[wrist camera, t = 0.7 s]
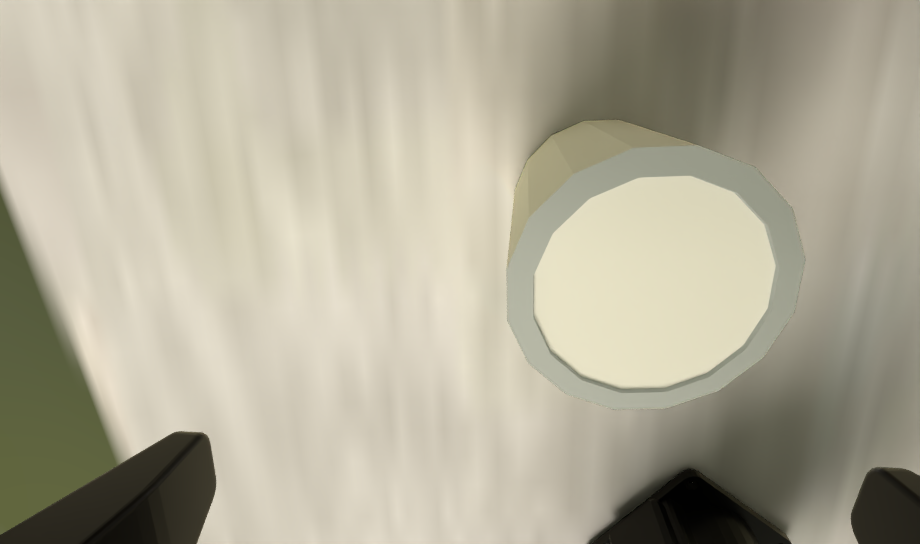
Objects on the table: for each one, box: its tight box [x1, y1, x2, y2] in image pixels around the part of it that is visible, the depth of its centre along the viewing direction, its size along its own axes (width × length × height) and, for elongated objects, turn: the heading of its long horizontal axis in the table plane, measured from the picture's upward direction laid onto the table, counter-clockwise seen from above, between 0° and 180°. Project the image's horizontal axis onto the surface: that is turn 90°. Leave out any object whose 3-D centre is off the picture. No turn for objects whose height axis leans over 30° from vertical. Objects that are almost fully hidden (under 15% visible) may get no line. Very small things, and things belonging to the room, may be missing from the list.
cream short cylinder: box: [506, 119, 805, 410], centre depth 17 cm, size 7×7×7 cm
